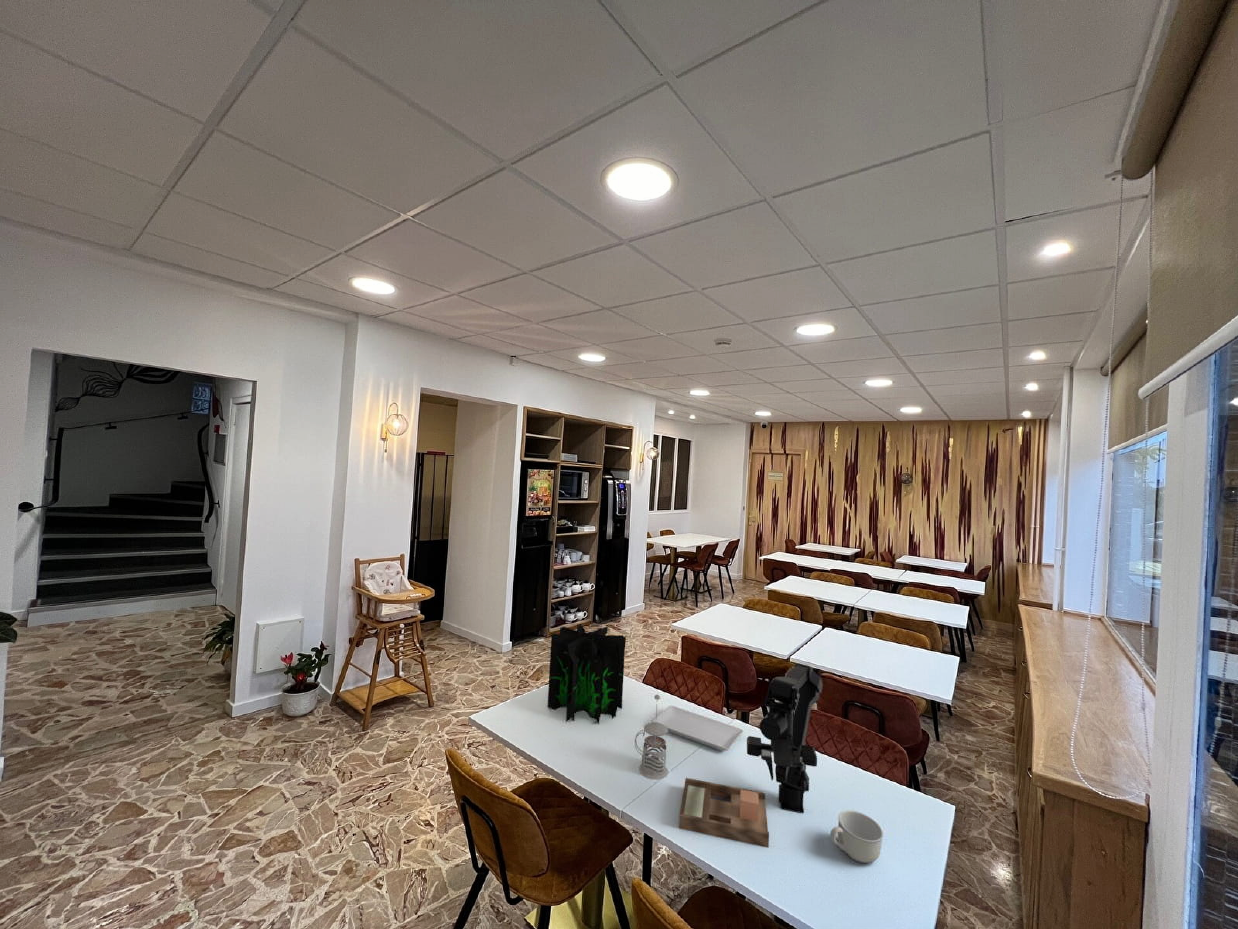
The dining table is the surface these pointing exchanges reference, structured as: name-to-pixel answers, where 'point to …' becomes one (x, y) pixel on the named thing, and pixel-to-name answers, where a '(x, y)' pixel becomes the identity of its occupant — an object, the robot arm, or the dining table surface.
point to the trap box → (721, 813)
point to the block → (749, 805)
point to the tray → (699, 728)
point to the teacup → (858, 836)
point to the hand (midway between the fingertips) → (779, 780)
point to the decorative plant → (586, 672)
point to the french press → (652, 764)
